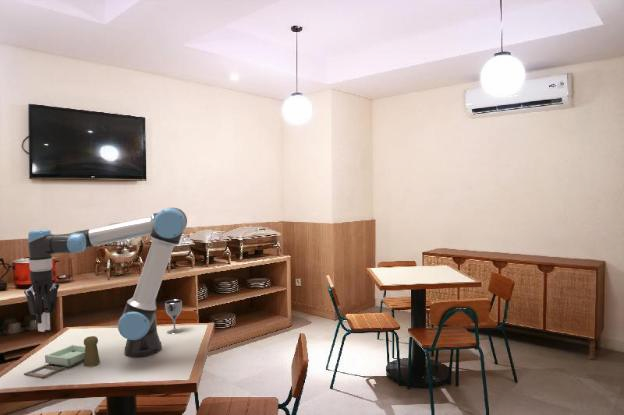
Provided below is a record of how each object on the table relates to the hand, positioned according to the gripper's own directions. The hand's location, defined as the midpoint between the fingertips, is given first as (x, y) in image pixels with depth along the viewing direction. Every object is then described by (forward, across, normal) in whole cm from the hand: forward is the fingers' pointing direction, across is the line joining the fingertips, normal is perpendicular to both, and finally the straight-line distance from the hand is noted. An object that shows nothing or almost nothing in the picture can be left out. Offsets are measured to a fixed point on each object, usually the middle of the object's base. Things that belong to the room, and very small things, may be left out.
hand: (44, 330), depth 170 cm
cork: (+17, -12, +11) cm, 23 cm away
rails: (+16, -6, 0) cm, 18 cm away
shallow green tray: (+16, -11, 0) cm, 20 cm away
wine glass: (+17, -56, +16) cm, 61 cm away
